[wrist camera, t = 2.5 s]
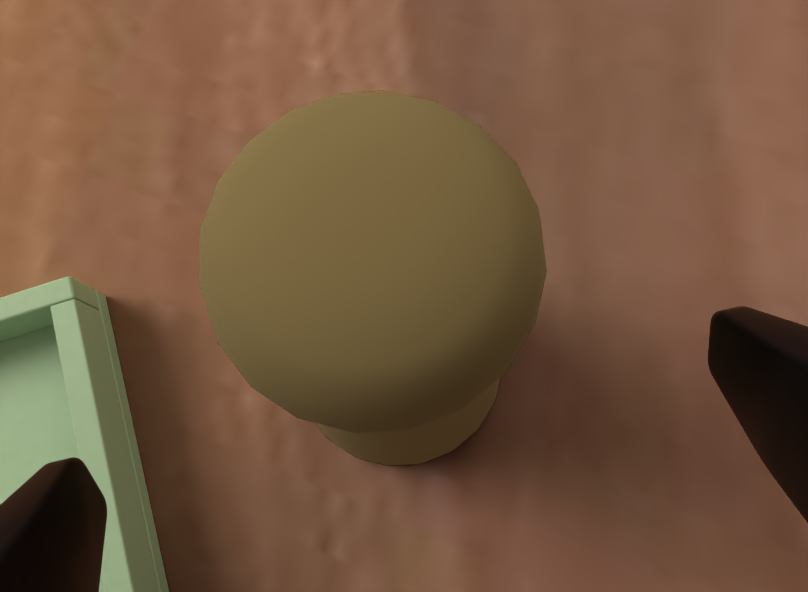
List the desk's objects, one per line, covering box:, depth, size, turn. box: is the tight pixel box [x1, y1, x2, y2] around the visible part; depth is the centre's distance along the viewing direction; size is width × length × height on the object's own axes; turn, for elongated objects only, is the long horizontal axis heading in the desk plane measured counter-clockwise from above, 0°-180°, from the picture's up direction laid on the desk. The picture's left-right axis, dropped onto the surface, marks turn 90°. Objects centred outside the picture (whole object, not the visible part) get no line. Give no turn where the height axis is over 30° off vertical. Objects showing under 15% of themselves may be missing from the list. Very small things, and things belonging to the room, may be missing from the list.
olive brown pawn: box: [199, 90, 547, 466], centre depth 14 cm, size 6×6×11 cm
